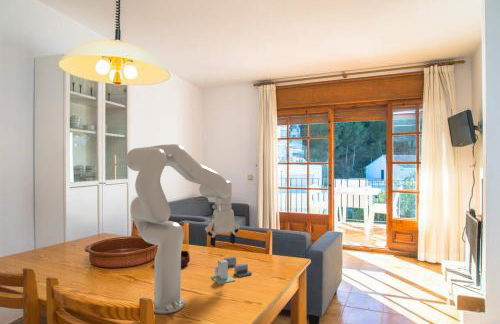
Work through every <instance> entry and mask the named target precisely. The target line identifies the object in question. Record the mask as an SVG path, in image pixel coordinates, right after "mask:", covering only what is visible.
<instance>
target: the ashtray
mask: <svg viewBox="0 0 500 324" xmlns="http://www.w3.org/2000/svg"><path fill="white" fill-rule="evenodd" d="M190 261H191V260H190V253H189V251H187V250H181V268H182V267H185V266H188V265H189V262H190Z"/></svg>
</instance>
